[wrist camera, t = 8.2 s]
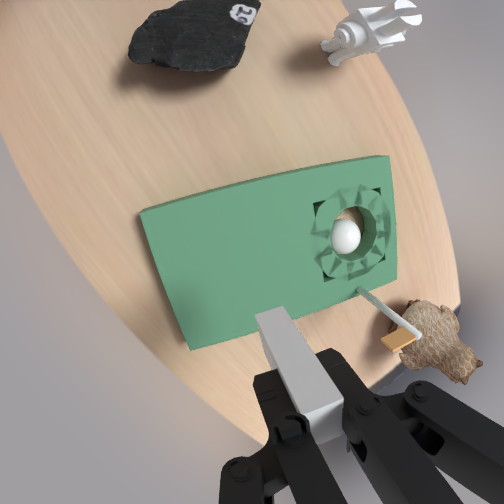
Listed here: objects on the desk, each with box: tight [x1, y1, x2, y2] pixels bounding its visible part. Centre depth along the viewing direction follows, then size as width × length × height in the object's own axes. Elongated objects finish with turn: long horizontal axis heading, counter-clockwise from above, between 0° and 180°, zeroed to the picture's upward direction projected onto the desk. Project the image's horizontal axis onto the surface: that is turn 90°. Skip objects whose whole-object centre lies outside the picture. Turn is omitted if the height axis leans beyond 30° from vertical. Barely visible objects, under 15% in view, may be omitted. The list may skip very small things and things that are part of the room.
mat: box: [139, 155, 422, 353], centre depth 22 cm, size 14×24×12 cm, turn 103°
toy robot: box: [320, 0, 422, 67], centre depth 17 cm, size 4×8×12 cm, turn 119°
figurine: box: [388, 300, 483, 385], centre depth 28 cm, size 9×10×15 cm
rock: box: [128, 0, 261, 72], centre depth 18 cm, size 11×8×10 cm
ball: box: [330, 219, 361, 254], centre depth 27 cm, size 4×4×4 cm
